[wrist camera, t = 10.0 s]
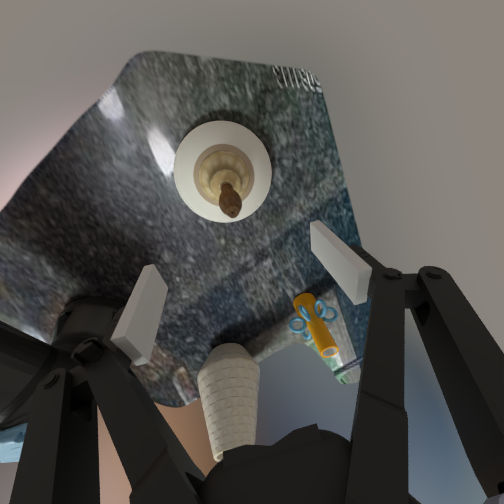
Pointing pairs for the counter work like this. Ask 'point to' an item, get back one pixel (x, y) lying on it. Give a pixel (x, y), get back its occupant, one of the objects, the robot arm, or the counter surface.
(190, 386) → the counter surface
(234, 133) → the hub plate
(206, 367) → the vase
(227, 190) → the hand bell
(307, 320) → the cylinder
